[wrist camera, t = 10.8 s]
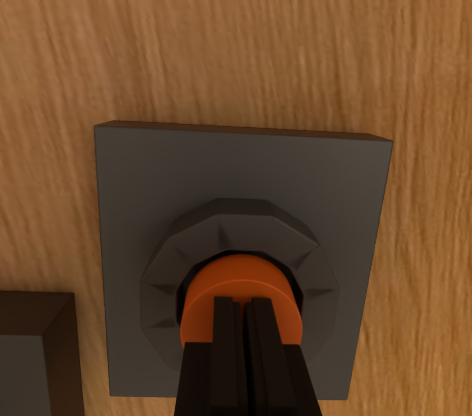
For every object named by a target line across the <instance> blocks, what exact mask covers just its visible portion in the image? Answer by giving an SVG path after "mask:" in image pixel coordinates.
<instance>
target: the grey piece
mask: <svg viewBox="0 0 472 416" xmlns="http://www.w3.org/2000/svg"><path fill="white" fill-rule="evenodd" d="M94 139H95V156H96V173H97V189H98V206H99V223H100V240H101V256H102V273H103V290H104V306H105V323H106V340H107V356H108V373H109V390H110V396H122V397H177V392H178V385H179V378H180V372H181V365H182V358H183V352H184V349H183V346H182V343H181V337H180V328H181V321H182V315H183V310H184V304H185V299H186V294H187V290H188V287H189V285H190V282H191V281H192V279H193V277H194V276H195V275H196V274H197V272H198V271H199V270H200V269H201V268H202V267H204V266H205V265H207V264H208V263H210V262H211V261H213V260H215V259H218V258H220V257H223V256H227V255H233V254H248V255H253V256H257V257H260V258H263V259H265V260H267V261H269V262H271V263H272V264H274V265H275V266H276V267H277V268H278V269H279V270H280V271H281V272H282V273H283V274H284V275H285V277H286V279H287V280H288V282H289V285H290V287H291V290H292V293H293V296H294V299H295V302H296V304H297V307H298V310H299V313H300V316H301V320H302V328H303V329H302V338H301V343H300V347H301V350H302V353H303V356H304V359H305V363H306V366H307V369H308V372H309V375H310V378H311V382H312V385H313V388H314V391H315V394H316V398H317V400H347V398H348V392H349V387H350V381H351V376H352V370H353V365H354V359H355V354H356V348H357V342H358V337H359V331H360V326H361V320H362V315H363V309H364V304H365V298H366V293H367V287H368V282H369V276H370V270H371V265H372V259H373V254H374V248H375V243H376V237H377V232H378V226H379V221H380V215H381V209H382V204H383V198H384V193H385V187H386V182H387V176H388V171H389V165H390V160H391V154H392V148H393V143H394V142H393V141H392V140H389V139H386V138H382V137H379V136H375V135H372V134H364V133H345V132H326V131H307V130H288V129H269V128H250V127H230V126H211V125H192V124H173V123H154V122H135V121H116V120H113V121H109V122H106V123H102V124H98V125H94Z"/></svg>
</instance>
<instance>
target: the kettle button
mask: <svg viewBox="0 0 472 416" xmlns="http://www.w3.org/2000/svg"><path fill="white" fill-rule="evenodd" d="M214 296H220V297H232V298H233V302H240V313H241V324H242V335H243V321H244V306H245V302H252V297H256V298H271V300H272V304H273V308H274V312H275V316H276V320H277V325H278V329H279V333H280V337H281V341H282V344H298V345H300V343H301V338H302V329H303V328H302V320H301V316H300V313H299V310H298V307H297V304H296V302H295V299H294V296H293V293H292V290H291V287H290V285H289V282H288V280H287V279H286V277H285V275H284V274H283V273H282V272H281V271H280V270H279V269H278V268H277V267H276V266H275V265H274V264H272V263H271V262H269V261H267V260H265V259H263V258H260V257H257V256H253V255H248V254H233V255H227V256H223V257H220V258H218V259H215V260H213V261H211V262H210V263H208V264H207V265H205V266H204V267H202V268H201V269H200V270H199V271H198V272H197V274H196V275H195V276H194V277H193V279H192V281H191V282H190V285H189V287H188V290H187V294H186V299H185V304H184V310H183V315H182V321H181V328H180V337H181V343H182V346H183V349H184V345H185V342H212V338H213V314H214Z"/></svg>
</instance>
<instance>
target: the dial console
mask: <svg viewBox="0 0 472 416" xmlns="http://www.w3.org/2000/svg"><path fill="white" fill-rule="evenodd" d="M0 416H84V408H83V396H82V385H81V373H80V362H79V351H78V339H77V328H76V316H75V305H74V294H73V293H44V292H10V291H0Z"/></svg>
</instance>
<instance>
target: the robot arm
mask: <svg viewBox="0 0 472 416" xmlns="http://www.w3.org/2000/svg"><path fill="white" fill-rule="evenodd" d="M174 416H322V413H321V410H320V407H319V404H318V401H317V398H316V394H315V391H314V388H313V385H312V382H311V378H310V375H309V372H308V369H307V366H306V363H305V359H304V356H303V353H302V350H301V347H300V345H298V344H282V341H281V337H280V333H279V329H278V325H277V320H276V316H275V312H274V308H273V304H272V300H271V298H256V297H252V302H245V306H244V321H243V335H242V324H241V313H240V302H233V298H232V297H220V296H214V314H213V338H212V342H185V345H184V352H183V358H182V365H181V372H180V378H179V385H178V392H177V398H176V405H175V412H174Z"/></svg>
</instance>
